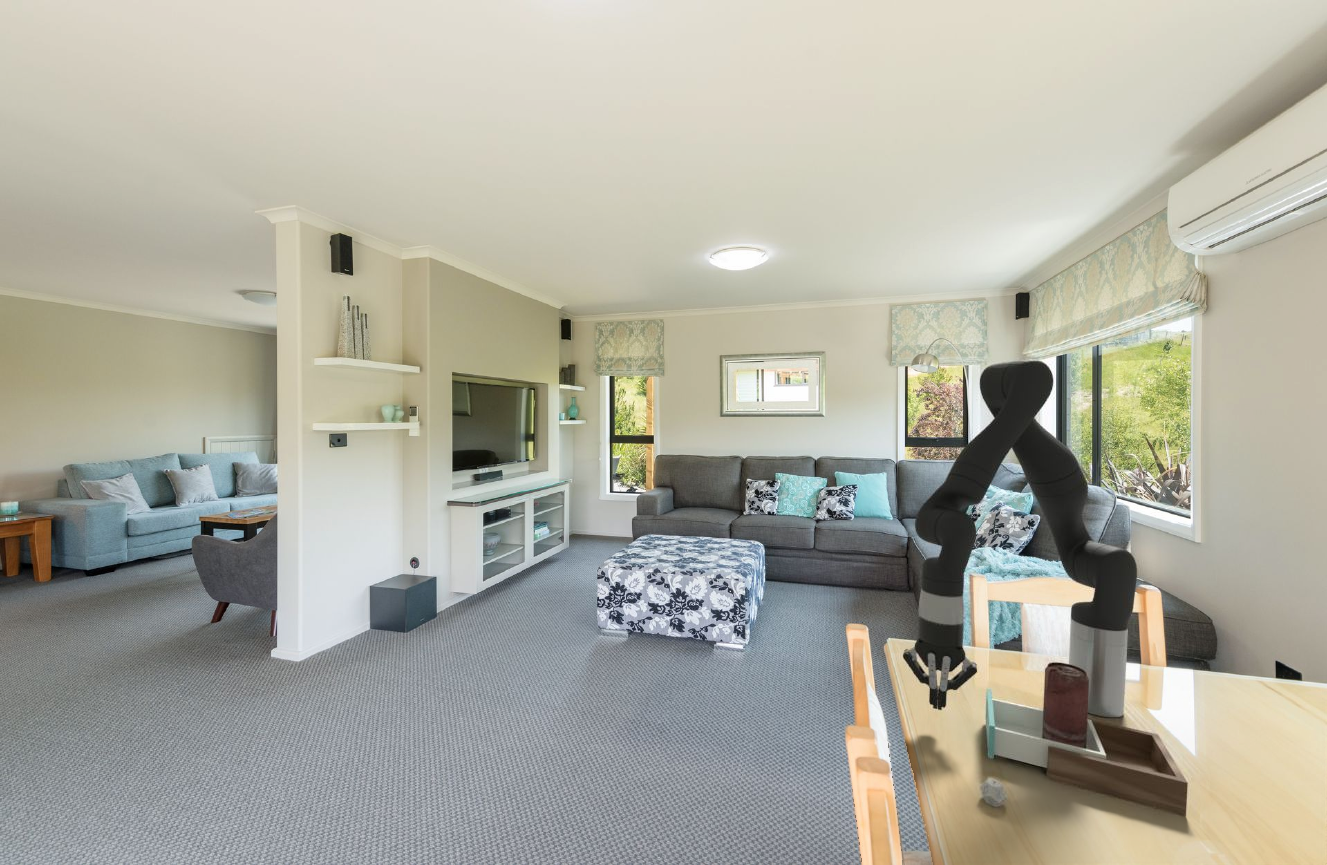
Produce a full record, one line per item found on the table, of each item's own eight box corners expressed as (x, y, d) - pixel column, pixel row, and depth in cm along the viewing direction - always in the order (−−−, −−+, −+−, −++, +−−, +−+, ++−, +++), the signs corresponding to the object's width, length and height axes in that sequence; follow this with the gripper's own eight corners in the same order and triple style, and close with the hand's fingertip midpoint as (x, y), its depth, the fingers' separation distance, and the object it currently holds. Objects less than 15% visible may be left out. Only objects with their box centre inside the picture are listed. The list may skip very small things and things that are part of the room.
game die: (977, 802, 86) (977, 783, 86) (983, 791, 89) (984, 772, 89) (1003, 813, 84) (1004, 793, 84) (1009, 801, 87) (1010, 782, 86)
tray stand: (1037, 734, 105) (1038, 707, 105) (1156, 762, 97) (1157, 733, 97) (1047, 779, 92) (1049, 748, 92) (1185, 815, 84) (1187, 782, 84)
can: (1032, 739, 100) (1035, 660, 100) (1065, 738, 101) (1069, 660, 100) (1059, 760, 94) (1062, 676, 94) (1094, 759, 95) (1098, 676, 94)
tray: (985, 716, 109) (986, 688, 109) (1088, 740, 102) (1090, 710, 101) (988, 756, 96) (989, 725, 96) (1106, 787, 88) (1108, 753, 88)
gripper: (981, 616, 106) (977, 707, 106) (904, 603, 112) (901, 690, 113) (982, 628, 99) (978, 726, 100) (900, 614, 105) (896, 707, 106)
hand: (937, 707), depth 106 cm, fingers closed
